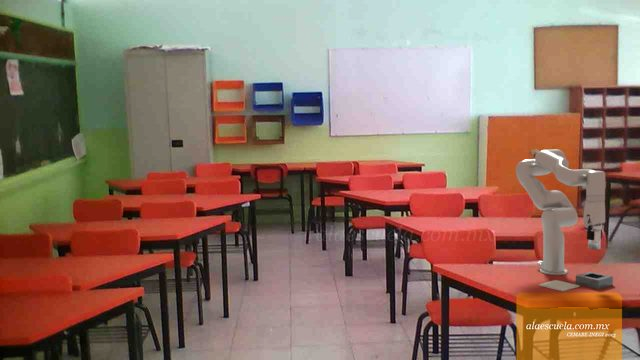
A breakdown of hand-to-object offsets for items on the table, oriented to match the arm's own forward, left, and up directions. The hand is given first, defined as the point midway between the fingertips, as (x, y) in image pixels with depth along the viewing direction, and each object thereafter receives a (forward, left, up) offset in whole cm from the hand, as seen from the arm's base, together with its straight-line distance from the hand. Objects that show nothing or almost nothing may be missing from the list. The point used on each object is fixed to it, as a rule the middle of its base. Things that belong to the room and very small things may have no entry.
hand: (594, 238), depth 266 cm
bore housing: (0, 0, -21) cm, 21 cm away
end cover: (0, 0, -4) cm, 4 cm away
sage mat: (-8, -14, -21) cm, 26 cm away
